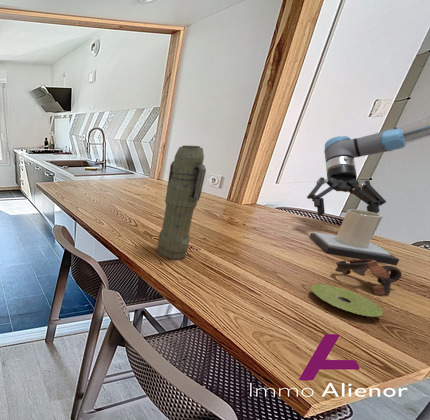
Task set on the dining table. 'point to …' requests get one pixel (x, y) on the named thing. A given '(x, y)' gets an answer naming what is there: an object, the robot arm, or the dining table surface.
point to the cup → (358, 228)
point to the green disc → (347, 300)
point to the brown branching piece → (376, 270)
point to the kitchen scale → (352, 249)
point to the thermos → (181, 201)
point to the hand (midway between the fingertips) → (346, 217)
